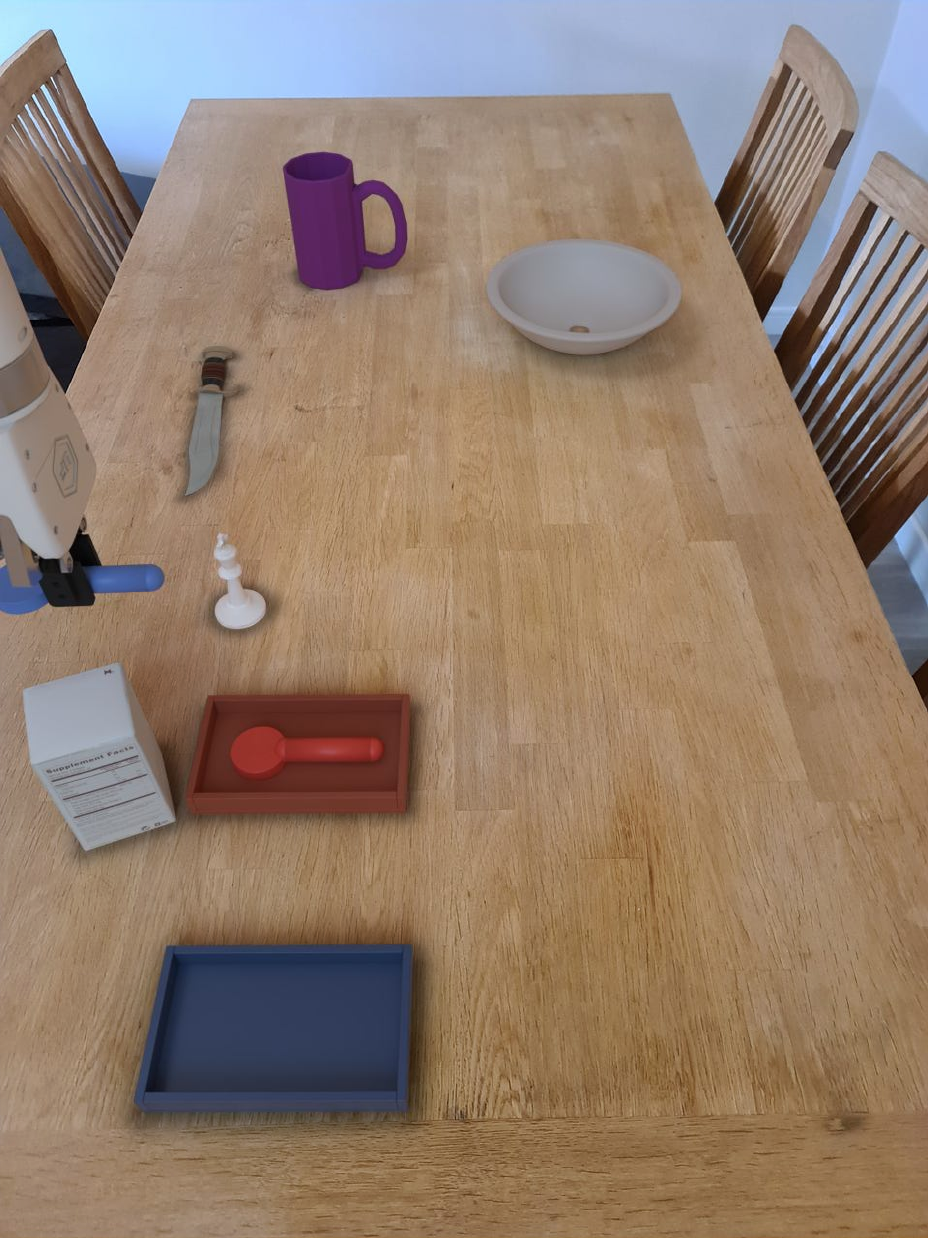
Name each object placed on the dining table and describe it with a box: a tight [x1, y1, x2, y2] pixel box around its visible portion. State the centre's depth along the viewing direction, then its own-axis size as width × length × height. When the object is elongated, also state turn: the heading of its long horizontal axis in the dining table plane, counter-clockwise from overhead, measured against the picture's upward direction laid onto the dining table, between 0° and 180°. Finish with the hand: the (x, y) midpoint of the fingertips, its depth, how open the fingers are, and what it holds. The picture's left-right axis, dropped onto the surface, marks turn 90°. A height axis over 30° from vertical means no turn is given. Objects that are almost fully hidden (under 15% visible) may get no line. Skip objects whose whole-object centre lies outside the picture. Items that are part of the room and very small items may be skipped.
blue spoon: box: [0, 563, 166, 616], centre depth 70 cm, size 13×5×2 cm, turn 91°
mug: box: [282, 151, 409, 291], centre depth 129 cm, size 9×16×15 cm, turn 87°
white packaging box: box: [21, 661, 177, 852], centre depth 74 cm, size 7×7×13 cm
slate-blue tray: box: [133, 943, 414, 1114], centre depth 65 cm, size 17×10×3 cm, turn 90°
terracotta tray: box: [184, 693, 412, 815], centre depth 80 cm, size 17×10×3 cm, turn 90°
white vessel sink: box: [485, 238, 683, 356], centre depth 122 cm, size 24×24×7 cm
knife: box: [184, 345, 239, 496], centre depth 112 cm, size 27×2×5 cm
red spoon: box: [230, 726, 384, 780], centre depth 80 cm, size 13×5×2 cm, turn 90°
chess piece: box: [213, 532, 267, 630], centre depth 89 cm, size 5×5×10 cm
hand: (78, 588), depth 71 cm, fingers closed on blue spoon, 2 cm apart
